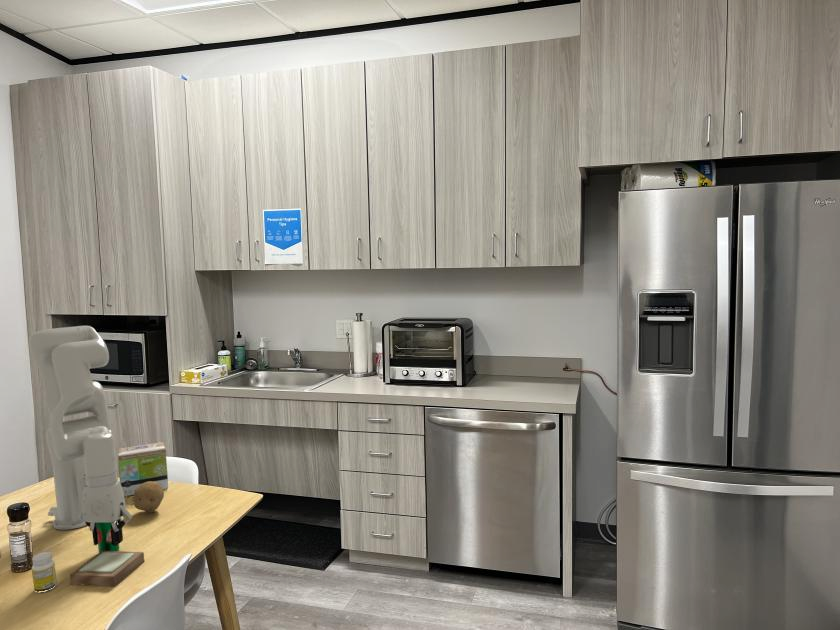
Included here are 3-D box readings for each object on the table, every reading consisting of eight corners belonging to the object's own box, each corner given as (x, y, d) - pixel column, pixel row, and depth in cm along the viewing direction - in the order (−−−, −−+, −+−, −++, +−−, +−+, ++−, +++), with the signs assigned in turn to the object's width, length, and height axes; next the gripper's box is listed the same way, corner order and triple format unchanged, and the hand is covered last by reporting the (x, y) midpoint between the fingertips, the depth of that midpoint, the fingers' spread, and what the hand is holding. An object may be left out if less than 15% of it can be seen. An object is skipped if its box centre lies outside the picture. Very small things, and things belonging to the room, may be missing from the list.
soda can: (110, 557, 161) (106, 514, 159) (94, 556, 162) (90, 513, 160) (123, 548, 165) (119, 506, 164) (107, 547, 167) (103, 506, 165)
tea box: (121, 498, 202) (117, 456, 200) (120, 489, 211) (116, 448, 209) (169, 489, 208) (165, 447, 207) (166, 480, 217) (163, 440, 216)
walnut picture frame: (70, 584, 148) (69, 573, 147) (103, 560, 159) (101, 549, 159) (115, 586, 146) (113, 574, 146) (144, 561, 158) (143, 550, 157)
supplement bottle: (40, 583, 149) (37, 551, 148) (60, 582, 149) (57, 550, 148) (30, 594, 144) (26, 561, 143) (50, 592, 144) (46, 559, 143)
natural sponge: (156, 519, 184) (153, 487, 183) (128, 519, 185) (125, 488, 184) (170, 506, 193) (167, 476, 192) (143, 507, 194) (140, 477, 193)
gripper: (63, 483, 159) (70, 549, 161) (122, 484, 157) (128, 551, 158) (83, 473, 166) (89, 536, 168) (139, 474, 164) (145, 537, 166)
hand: (108, 542), depth 163 cm, fingers closed on soda can, 5 cm apart
